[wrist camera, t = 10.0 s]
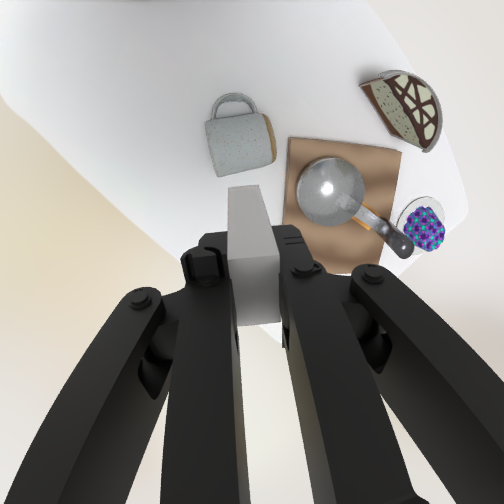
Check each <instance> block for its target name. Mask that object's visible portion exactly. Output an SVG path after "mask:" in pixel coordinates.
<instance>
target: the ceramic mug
mask: <svg viewBox="0 0 504 504" xmlns="http://www.w3.org/2000/svg"><path fill="white" fill-rule="evenodd" d="M229 101H239V102H240V101H245V102H246V103H248V104H249V105H250V107H251V108H252V111H253V114H246V115H241V116H234V117H226V118H221V119H215V117H216V112H217V109H218V107H219V106H220V104H222V103H224V102H229ZM205 129H206V134H207V140H208V145H209V149H210V154H211V157H212V161H213V166H214V170H215V173H216V175H217V177H223V176H227V175H231V174H235V173H239V172H243V171H247V170H251V169H255V168H260V167H264V166H267V165H269V164H271V163H273V162H274V161H275V159H276V155H277V151H276V143H275V137H274V133H273V129H272V126H271V123H270V120H269V118H268V117H267V116H266V115H264V114H258V113H257V109H256V106H255V104H254V102H253V101H252V100H251V99H250V98H249V97H247V96H245V95H243V94H238V93H232V94H227V95H224V96H222V97H220V98H219V99H218V100H217V102H216V103H215V105H214V107H213V110H212V120H210V121H206V122H205Z"/></svg>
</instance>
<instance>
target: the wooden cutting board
mask: <svg viewBox="0 0 504 504" xmlns="http://www.w3.org/2000/svg"><path fill="white" fill-rule="evenodd" d="M401 155H402V152H400V151H397V150H393V149H387V148H381V147H375V146H368V145H361V144H353V143H345V142H337V141H327V140H317V139H305V138H291V137H289V139H288V155H287V170H286V184H285V197H284V210H283V222H282V225H289V224H292V225H294V226H295V227H296V228H298V229H299V230H300V232H301V234H302V236H303V238H304V240H305V243H306V244H307V247H308V249H309V251H310V253H311V255H312V257H313V260H315V261H317V262H319V263H321V264H322V265H323V266H324V267H325V269H326V271H327V273H330V274H346V273H352V271H353V269H354V268H355V267H357V266H359V265H361V264H376V265H378V264H379V260H380V256H381V253H382V249H383V245H384V240H383V239H382V238H381V237H380V236H379V235H378V234H377V233H376V231H375V230H374V229H373V228H371V227H370V226H368V225H367V224H365V223H364V222H362V221H361V220H359V219H358V218H356V217H355V216H353V217H352V218H351V219H350V220H348V221H347V222H345V223H343V224H340V225H337V226H330V227H329V226H321V225H318V224H316V223H314V222H312V221H311V220H309V219H308V218H307V217H306V215H305V214H304V213H303V211H302V210H301V208H300V206H299V204H298V202H297V199H296V183H297V180H298V177H299V175H300V173H301V172H302V171H303V169H304V168H305V167H306V166H307V165H308V164H309V163H311V162H312V161H314V160H316V159H318V158H322V157H337V158H340V159H343V160H345V161H346V162H348V163H350V164H352V165H353V166H354V167H355V168H356V169H357V170H358V171H359V173H360V174H361V176H362V178H363V181H364V185H365V195H364V200H363V203H362V205H364V206H365V207H366V208H368V209H369V210H371V211H372V212H373V213H375V214H376V215H377V216H379V217H380V218H386V219H388V220H390V215H391V211H392V206H393V201H394V196H395V191H396V185H397V180H398V174H399V168H400V162H401Z"/></svg>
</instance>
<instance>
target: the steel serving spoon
mask: <svg viewBox="0 0 504 504" xmlns="http://www.w3.org/2000/svg"><path fill="white" fill-rule="evenodd" d="M364 195H365V185H364V181H363V178H362V176H361V174H360V173H359V171H358V170H357V169H356V168H355V167H354V166H353V165H352V164H350V163H348V162H346V161H345V160H343V159H340V158H337V157H322V158H318V159H316V160H314V161H312V162H311V163H309V164H308V165H307V166H306V167H305V168H304V169H303V171H302V172H301V173H300V175H299V177H298V180H297V183H296V199H297V202H298V204H299V206H300V208H301V210H302V211H303V213H304V214H305V215H306V217H307V218H308V219H309V220H311V221H312V222H314V223H316V224H318V225H321V226H329V227H330V226H337V225H340V224H343V223H345V222H347V221H348V220H350V219H351V218H352V217H353V216H355V217H356V218H358V219H359V220H361V221H362V222H364V223H365V224H367V225H368V226H370V227H371V228H373V229H374V230H375V231H376V233H377V234H378V235H379V236H380V237H381V238H382V239H383V240H384V241H385V242H386V243H387V244H388V246H389V247H390V248H391V249H392V250H393V251H394V252H395V253H396V254H397V255H398V256H399V257H400V258H401V259H406V258H408V257H410V256H411V255H412V253H413V252H414V248H415V246H414V243H413V242H412V241H411V240H410V239H409V238H408V237H407V236H406V235H405V234H403V233H402V232H401V231H400V230H399V229H398V228H397V227H396V226H395V225H393V224H392V223H391V222H390V221H389V220H388V219H386V218H380V217H379V216H377V215H376V214H375V213H373V212H372V211H371V210H369V209H368V208H366V207H365V206H364V205H362V203H363V200H364Z"/></svg>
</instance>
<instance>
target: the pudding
mask: <svg viewBox="0 0 504 504" xmlns="http://www.w3.org/2000/svg"><path fill="white" fill-rule="evenodd" d="M420 206H422V207H420ZM423 206H428V207H427V208H424V207H423ZM417 207H418V208H417ZM416 208H417V209H416ZM431 208H432V209H433V210H434V211H433V210H432V209H431ZM414 209H416V211H415V212H412V211H413V210H414ZM411 212H412V213H411ZM434 212H435V213H434ZM410 213H411V214H410ZM409 214H410V215H409ZM408 215H409V216H408ZM407 217H408V218H407ZM406 218H407V223H406V224H405V225H404V223H405V220H406ZM444 219H445V218H444V211H443V208H442V206H441V204H440V203H439V202H438V201H437V200H435V199H433V198H430V197H424V198H420V199H418V200H416V201H414V202H413V203H411V204H410V205H409V206H408V207H407V208H406V209H405V211H404V212H403V214H402V215H401V217H400V219H399V222H398V225H397V228H398V229H399V230H400V231H401V232H402V233H403V231H404V233H405V234H406V236H407V237H408V238H409V239H410V240H411V241H412V242H413V243H414V246H415V248H414V252H413V253H412V255H418V254H421V253H423V252H425V251H428V252H429V251H432V250H433V249H437V248H438V247H439V246H440V244H441V243H442V242H443V240H444V234H445V228H444ZM403 226H404V229H403Z"/></svg>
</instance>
